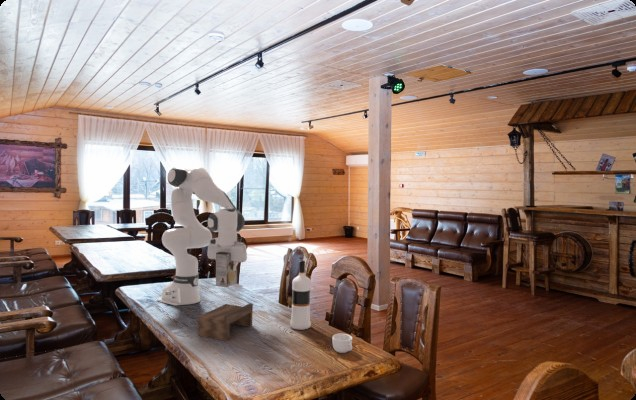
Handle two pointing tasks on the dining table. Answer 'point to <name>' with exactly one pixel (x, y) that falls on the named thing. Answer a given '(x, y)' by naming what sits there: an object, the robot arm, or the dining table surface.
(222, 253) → the coffee box
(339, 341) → the teacup
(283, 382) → the dining table surface
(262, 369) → the dining table surface
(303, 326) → the vodka
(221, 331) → the walnut shelf
